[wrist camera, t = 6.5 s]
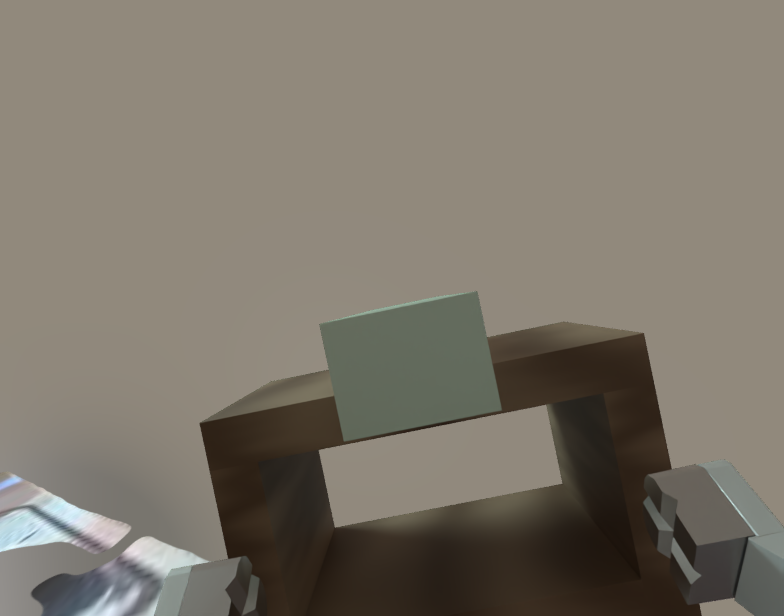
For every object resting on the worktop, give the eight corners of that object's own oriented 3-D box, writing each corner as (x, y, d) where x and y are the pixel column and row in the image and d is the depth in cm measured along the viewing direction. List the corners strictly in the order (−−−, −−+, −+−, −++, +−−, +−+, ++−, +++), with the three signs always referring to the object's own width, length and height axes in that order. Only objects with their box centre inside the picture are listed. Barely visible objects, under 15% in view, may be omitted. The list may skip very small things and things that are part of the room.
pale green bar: (448, 345, 32) (438, 296, 32) (502, 410, 13) (477, 291, 13) (383, 358, 32) (373, 309, 32) (344, 441, 13) (318, 324, 13)
